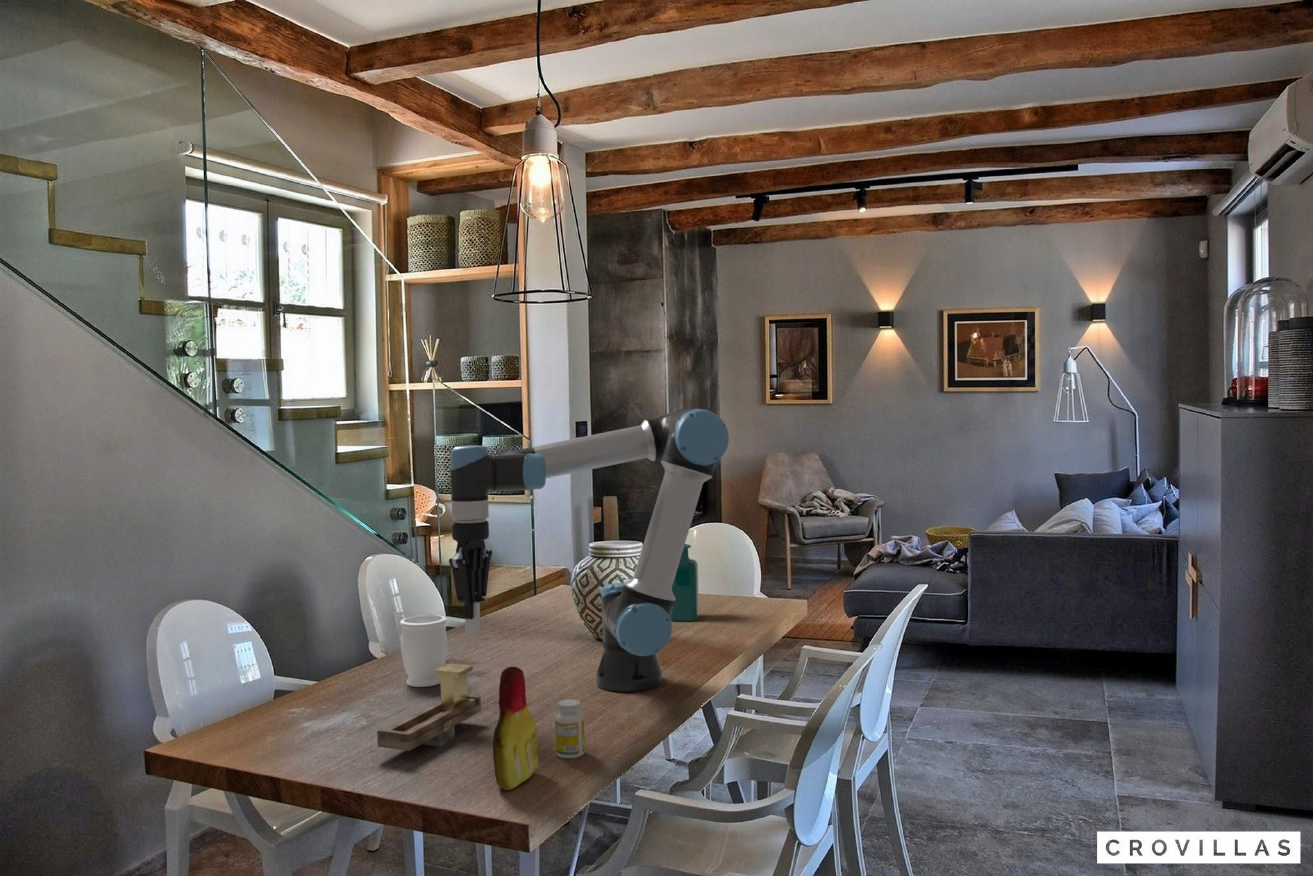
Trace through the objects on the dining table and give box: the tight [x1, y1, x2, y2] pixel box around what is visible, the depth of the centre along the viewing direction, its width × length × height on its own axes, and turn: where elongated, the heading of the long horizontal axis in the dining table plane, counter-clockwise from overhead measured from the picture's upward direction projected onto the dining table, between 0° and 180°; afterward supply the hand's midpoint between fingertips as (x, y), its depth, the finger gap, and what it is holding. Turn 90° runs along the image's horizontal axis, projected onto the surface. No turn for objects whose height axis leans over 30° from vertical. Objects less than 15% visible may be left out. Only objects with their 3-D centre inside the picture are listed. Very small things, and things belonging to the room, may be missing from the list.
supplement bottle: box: [554, 698, 586, 759], centre depth 184 cm, size 5×5×10 cm
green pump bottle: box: [670, 543, 700, 622], centre depth 292 cm, size 10×8×22 cm
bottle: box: [492, 666, 539, 791], centre depth 171 cm, size 12×6×20 cm, turn 163°
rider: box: [435, 663, 474, 711], centre depth 200 cm, size 5×6×8 cm
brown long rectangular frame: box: [376, 694, 482, 752], centre depth 193 cm, size 24×8×6 cm, turn 158°
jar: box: [399, 614, 448, 688], centre depth 233 cm, size 11×10×15 cm
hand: (472, 633), depth 207 cm, fingers closed
